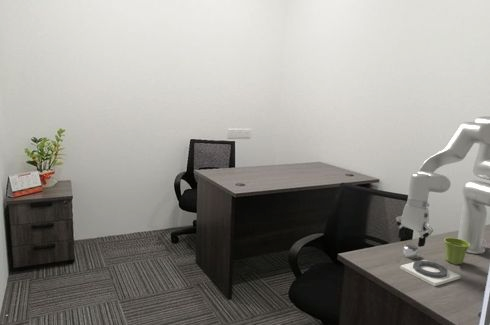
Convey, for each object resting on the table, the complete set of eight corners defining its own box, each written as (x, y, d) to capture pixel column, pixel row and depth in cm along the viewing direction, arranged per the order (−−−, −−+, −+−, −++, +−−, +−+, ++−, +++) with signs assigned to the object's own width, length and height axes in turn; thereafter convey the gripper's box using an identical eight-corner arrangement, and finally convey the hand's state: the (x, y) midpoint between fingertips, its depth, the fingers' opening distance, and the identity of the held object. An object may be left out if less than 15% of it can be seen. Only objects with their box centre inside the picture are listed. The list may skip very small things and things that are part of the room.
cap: (409, 252, 161) (410, 243, 160) (421, 257, 155) (422, 248, 155) (399, 254, 158) (401, 245, 157) (411, 260, 153) (413, 250, 152)
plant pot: (441, 254, 159) (444, 235, 158) (466, 260, 155) (469, 240, 153) (440, 262, 151) (443, 242, 150) (467, 268, 147) (470, 248, 145)
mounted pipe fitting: (424, 261, 151) (425, 256, 151) (460, 278, 138) (461, 272, 138) (399, 268, 144) (400, 262, 144) (434, 286, 131) (435, 280, 131)
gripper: (442, 208, 147) (435, 248, 149) (405, 197, 162) (400, 233, 164) (429, 209, 143) (423, 251, 146) (393, 198, 158) (388, 235, 161)
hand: (410, 241), depth 155 cm, fingers open, 9 cm apart
